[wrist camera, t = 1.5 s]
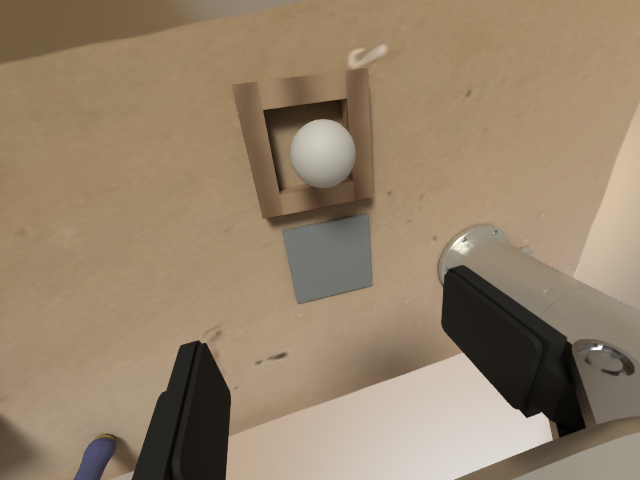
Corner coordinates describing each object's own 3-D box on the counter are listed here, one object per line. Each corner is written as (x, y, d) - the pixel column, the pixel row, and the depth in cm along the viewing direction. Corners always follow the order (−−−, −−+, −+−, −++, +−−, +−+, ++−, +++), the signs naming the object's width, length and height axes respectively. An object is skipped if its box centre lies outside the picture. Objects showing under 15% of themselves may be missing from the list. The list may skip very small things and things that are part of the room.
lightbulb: (321, 178, 34) (348, 204, 25) (275, 162, 32) (285, 182, 22) (340, 130, 32) (377, 137, 23) (292, 109, 30) (310, 106, 21)
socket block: (359, 71, 30) (368, 68, 28) (365, 192, 36) (373, 197, 34) (233, 87, 28) (231, 84, 26) (262, 212, 34) (263, 218, 32)
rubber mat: (366, 213, 38) (368, 214, 37) (370, 283, 43) (372, 285, 42) (282, 230, 36) (282, 232, 35) (296, 301, 41) (297, 303, 41)
